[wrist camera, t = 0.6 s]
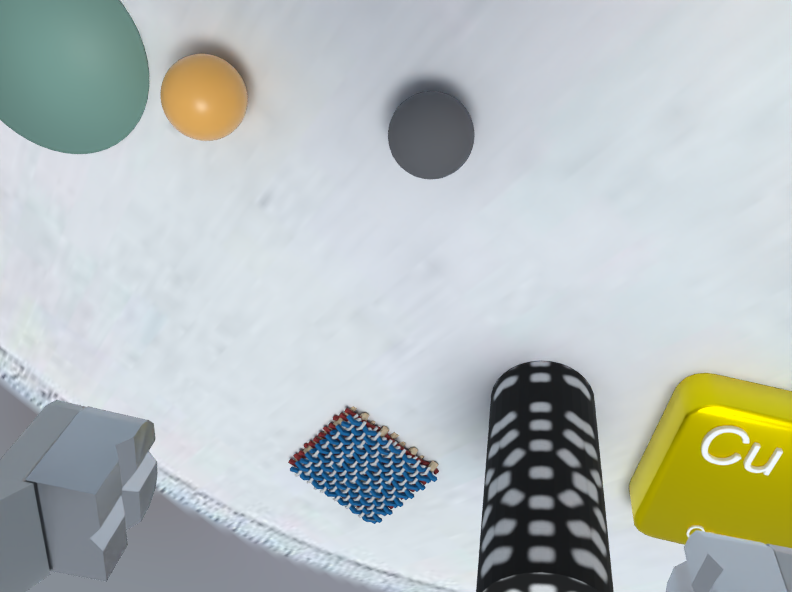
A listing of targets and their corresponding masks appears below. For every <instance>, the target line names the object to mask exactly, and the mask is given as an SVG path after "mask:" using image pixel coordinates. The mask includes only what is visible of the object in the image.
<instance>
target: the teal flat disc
mask: <svg viewBox="0 0 792 592" xmlns="http://www.w3.org/2000/svg"><path fill="white" fill-rule="evenodd" d="M148 91H149V69H148V61H147V57H146V53H145V49H144V45H143V43H142V40H141V37H140V35H139V32H138V30H137V28H136V26H135V24H134V22H133V20H132V18H131V17H130V15H129V14H128V12H127V10H126V9H125V7H124V6H123V5H122V3H121V2H120V1H119V0H0V120H1V121H2V122H3V123H5V124H6V125H7V126H8V127H10V128H11V129H12V130H14V131H15V132H16V133H18V134H19V135H21V136H23V137H24V138H26V139H27V140H29V141H31V142H33V143H35V144H38V145H40V146H42V147H45V148H48V149H51V150H54V151H59V152H63V153H71V154H88V153H94V152H99V151H102V150H105V149H108V148H110V147H112V146H114V145H116V144H117V143H119V142H120V141H121V140H123V139H124V138H125V137H127V136H128V134H129V133H130V132H131V131H132V130H133V129H134V128H135V126H136V125H137V123H138V122H139V120H140V118H141V116H142V114H143V112H144V109H145V106H146V102H147V99H148Z"/></svg>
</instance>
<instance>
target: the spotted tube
mask: <svg viewBox="0 0 792 592" xmlns="http://www.w3.org/2000/svg"><path fill="white" fill-rule="evenodd" d="M476 592H613V582H612V572H611V562H610V551H609V541H608V531H607V521H606V511H605V501H604V491H603V481H602V471H601V461H600V451H599V441H598V431H597V421H596V411H595V401H594V394H593V391H592V389H591V386H590V385H589V383H588V382H587V381H586V379H585V378H584V377H583V376H581V375H580V374H579V373H578V372H576V371H575V370H573V369H571V368H570V367H567V366H565V365H562V364H558V363H554V362H545V361H537V362H529V363H525V364H521V365H518V366H516V367H514V368H512V369H510V370H509V371H507V372H506V373H504V374H503V375H502V376H501V377H500V378H499V379H498V381H497V382H496V384H495V386H494V387H493V391H492V394H491V406H490V419H489V432H488V445H487V458H486V471H485V484H484V497H483V510H482V523H481V536H480V549H479V563H478V576H477V589H476Z"/></svg>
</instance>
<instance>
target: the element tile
mask: <svg viewBox="0 0 792 592" xmlns="http://www.w3.org/2000/svg"><path fill="white" fill-rule="evenodd" d="M629 491H630V498H631V505H632V513H633V520H634V525H635V526H636V528H637V529H638V530H639V531H640V532H642V533H643V534H645V535H648V536H651V537H654V538H658V539H662V540H667V541H671V542H675V543H679V544H684V545H685V544H686V542H687V540H688V538H689V536H690V535H691V534H692V533H693V532H695V531H696V530H699V531H704V532H709V533H714V534H719V535H725V536H730V537H735V538H740V539H746V540H751V541H756V542H761V543H764V544H772V545H777V546H782V547H788V548H792V391H788V390H784V389H779V388H775V387H770V386H766V385H761V384H757V383H752V382H748V381H744V380H739V379H735V378H730V377H726V376H721V375H717V374H710V373H700V374H694V375H691V376H689V377H686V378H685V379H684V380H683V381H681V382H680V383H679V384H678V385H677V387H676V388H675V390H674V392H673V394H672V397H671V399H670V401H669V403H668V405H667V407H666V409H665V411H664V413H663V415H662V417H661V419H660V421H659V423H658V425H657V427H656V429H655V432H654V434H653V436H652V438H651V440H650V442H649V444H648V446H647V448H646V450H645V452H644V454H643V456H642V458H641V460H640V462H639V464H638V467H637V469H636V471H635V473H634V475H633V477H632V479H631V481H630V484H629Z"/></svg>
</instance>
